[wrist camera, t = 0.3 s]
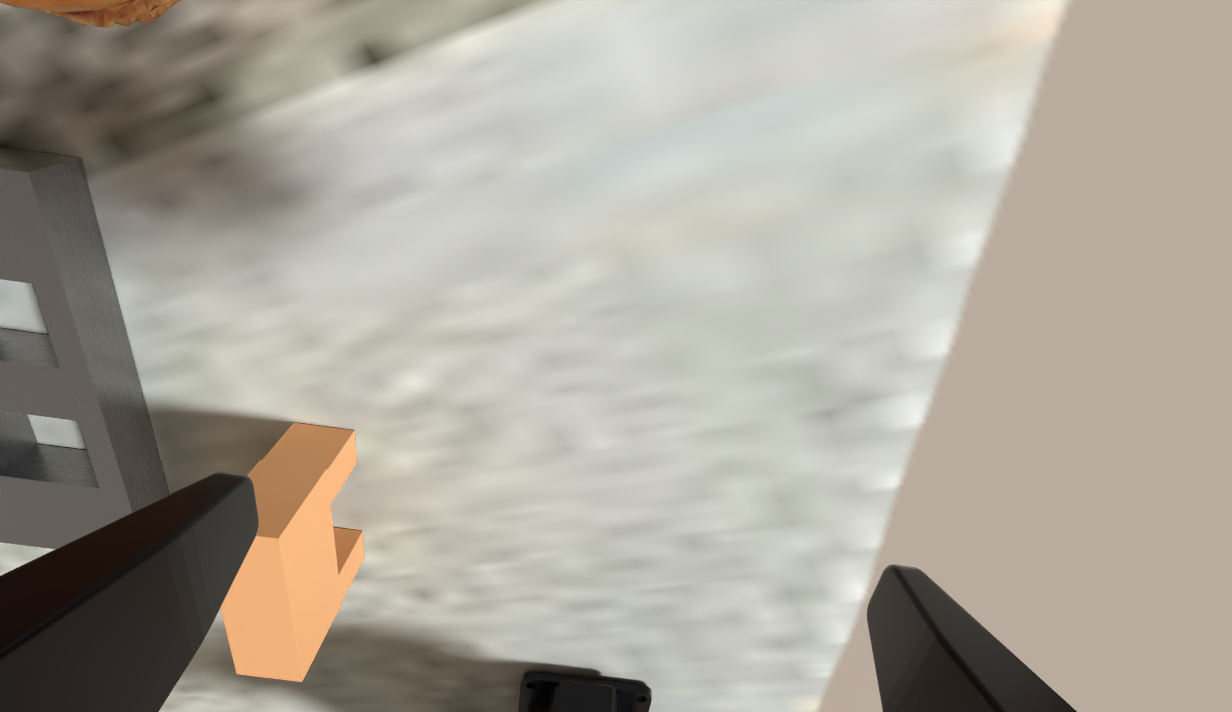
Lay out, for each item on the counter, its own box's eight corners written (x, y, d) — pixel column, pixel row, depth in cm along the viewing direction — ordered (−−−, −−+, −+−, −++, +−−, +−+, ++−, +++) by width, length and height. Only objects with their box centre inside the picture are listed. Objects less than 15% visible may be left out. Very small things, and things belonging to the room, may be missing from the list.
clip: (364, 558, 29) (302, 682, 24) (311, 552, 29) (236, 673, 24) (354, 428, 26) (278, 538, 20) (293, 420, 26) (201, 529, 20)
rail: (177, 526, 29) (147, 560, 27) (40, 508, 28) (0, 542, 27) (80, 158, 21) (28, 172, 19) (-110, 131, 21) (-179, 143, 19)
